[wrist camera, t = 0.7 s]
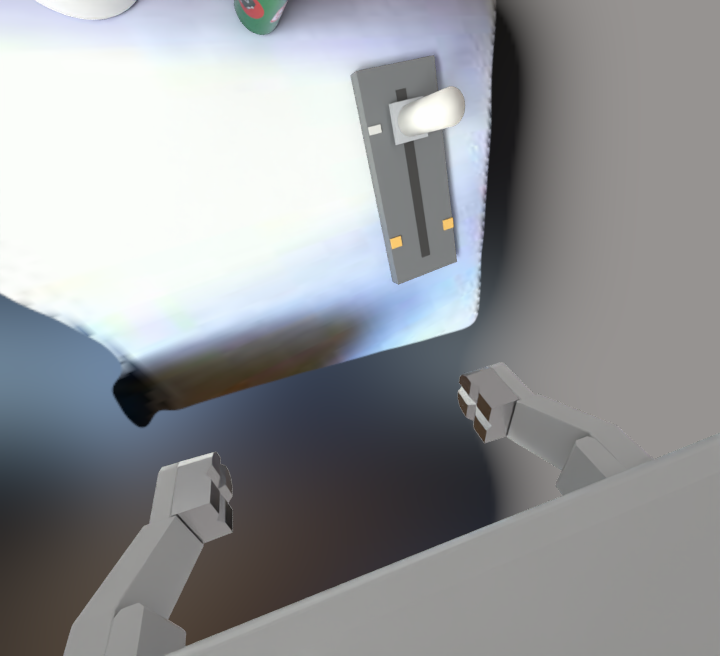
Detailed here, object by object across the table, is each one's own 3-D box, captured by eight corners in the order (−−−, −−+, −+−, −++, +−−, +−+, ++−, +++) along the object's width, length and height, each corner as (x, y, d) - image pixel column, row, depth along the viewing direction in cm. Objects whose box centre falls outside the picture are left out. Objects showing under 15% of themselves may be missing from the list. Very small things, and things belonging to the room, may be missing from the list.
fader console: (350, 75, 46) (357, 70, 44) (426, 59, 49) (435, 54, 47) (392, 281, 60) (399, 285, 58) (450, 259, 63) (457, 261, 61)
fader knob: (388, 104, 47) (429, 85, 38) (419, 97, 48) (466, 77, 40) (395, 145, 49) (435, 135, 41) (425, 137, 50) (470, 126, 42)
